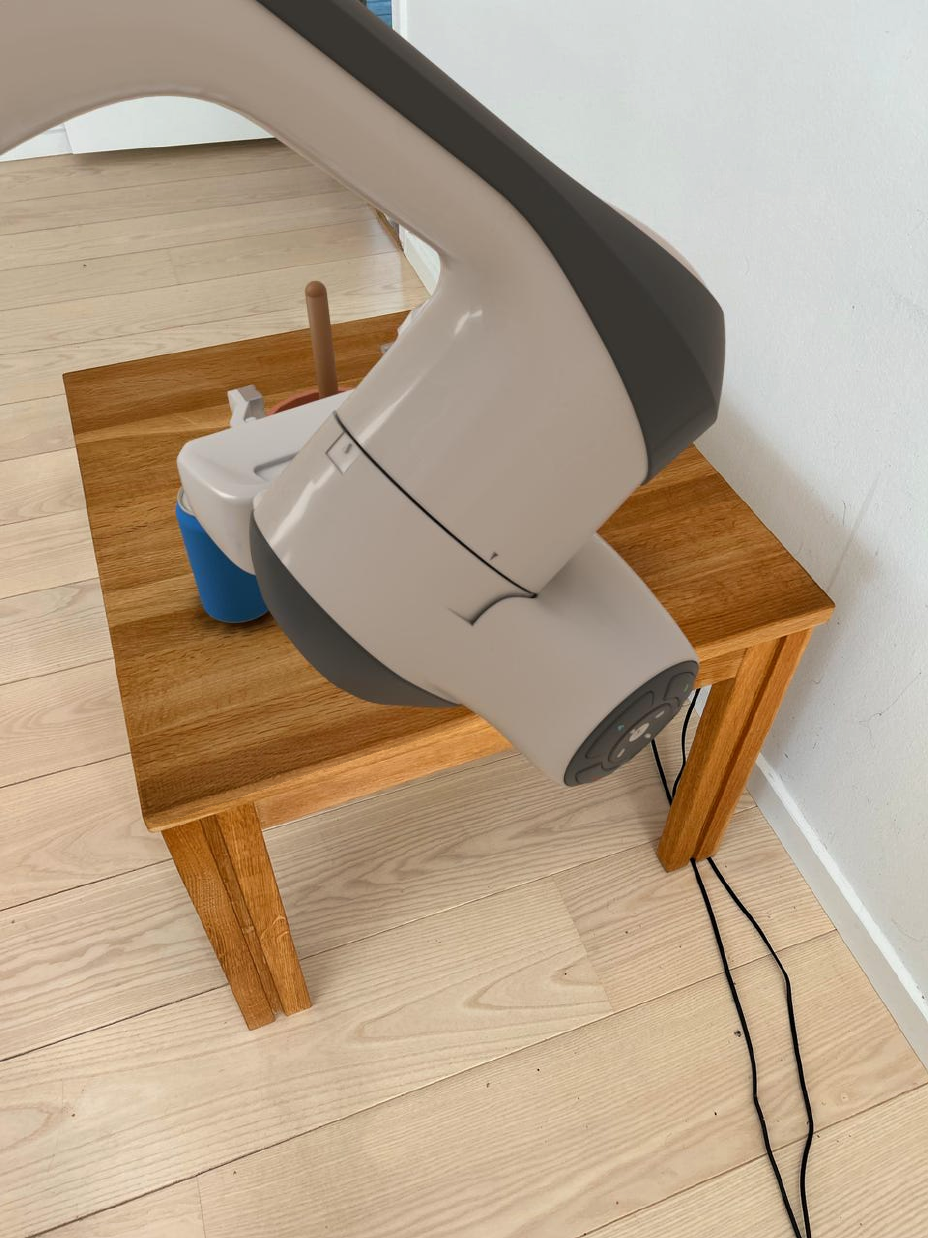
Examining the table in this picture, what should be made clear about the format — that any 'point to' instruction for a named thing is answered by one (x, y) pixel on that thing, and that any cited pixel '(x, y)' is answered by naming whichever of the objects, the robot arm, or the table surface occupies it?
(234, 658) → the table surface
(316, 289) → the plunger
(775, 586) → the table surface
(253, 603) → the beverage can
